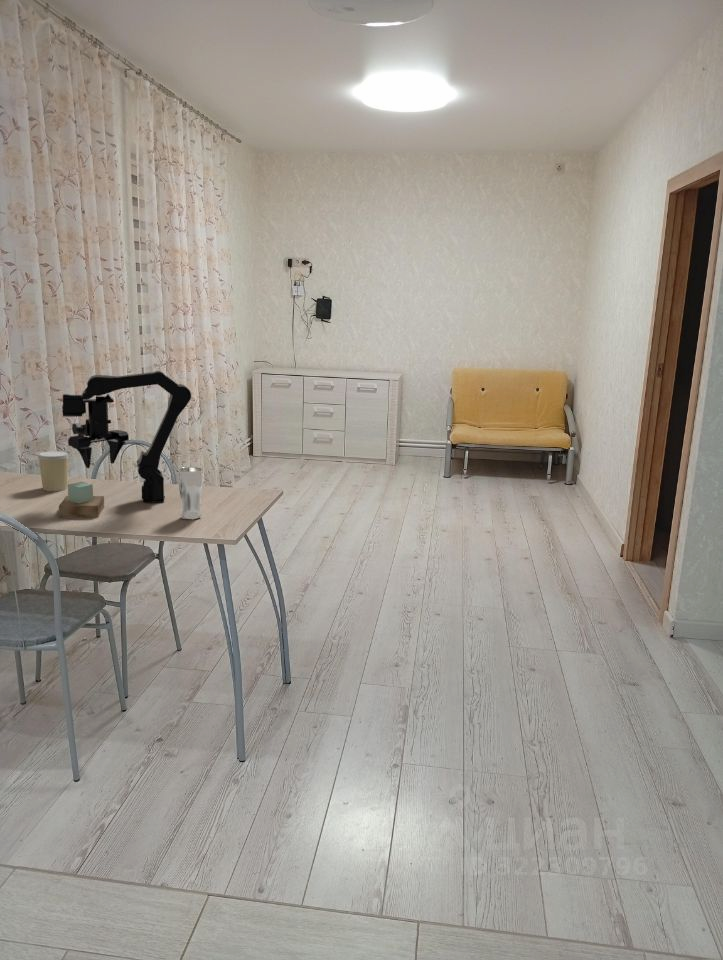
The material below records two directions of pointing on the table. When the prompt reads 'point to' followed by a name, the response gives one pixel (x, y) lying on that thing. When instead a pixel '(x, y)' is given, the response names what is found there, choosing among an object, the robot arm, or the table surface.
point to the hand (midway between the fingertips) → (100, 465)
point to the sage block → (80, 492)
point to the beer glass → (190, 491)
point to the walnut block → (82, 508)
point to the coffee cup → (54, 470)
